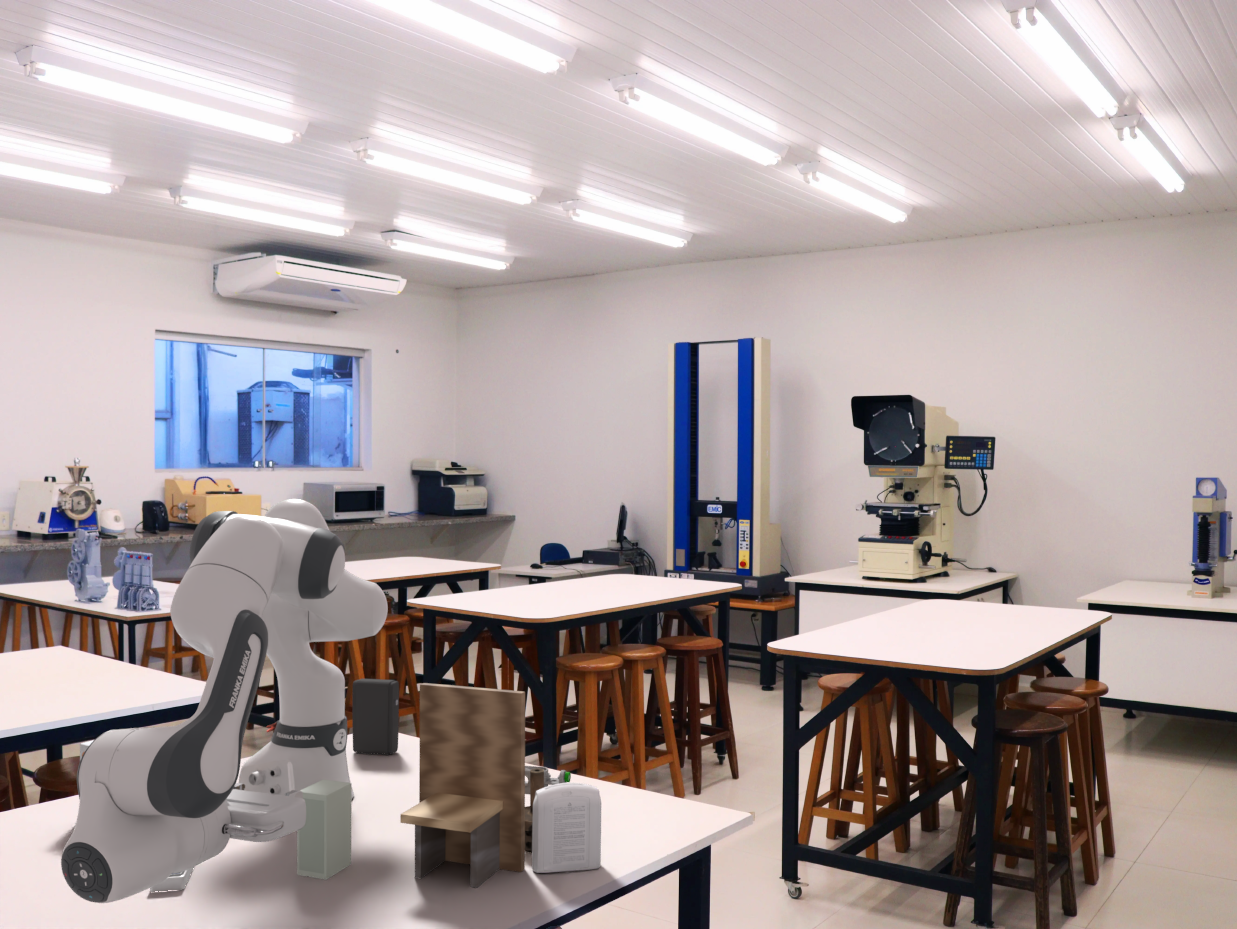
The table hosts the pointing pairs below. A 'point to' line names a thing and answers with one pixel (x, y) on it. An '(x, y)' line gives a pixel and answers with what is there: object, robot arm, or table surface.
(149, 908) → the table surface
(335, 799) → the sage cabinet
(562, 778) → the mechanical component
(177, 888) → the multiport hub
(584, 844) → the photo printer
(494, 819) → the wooden toy chair
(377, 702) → the dark grey upright block
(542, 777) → the industrial component
